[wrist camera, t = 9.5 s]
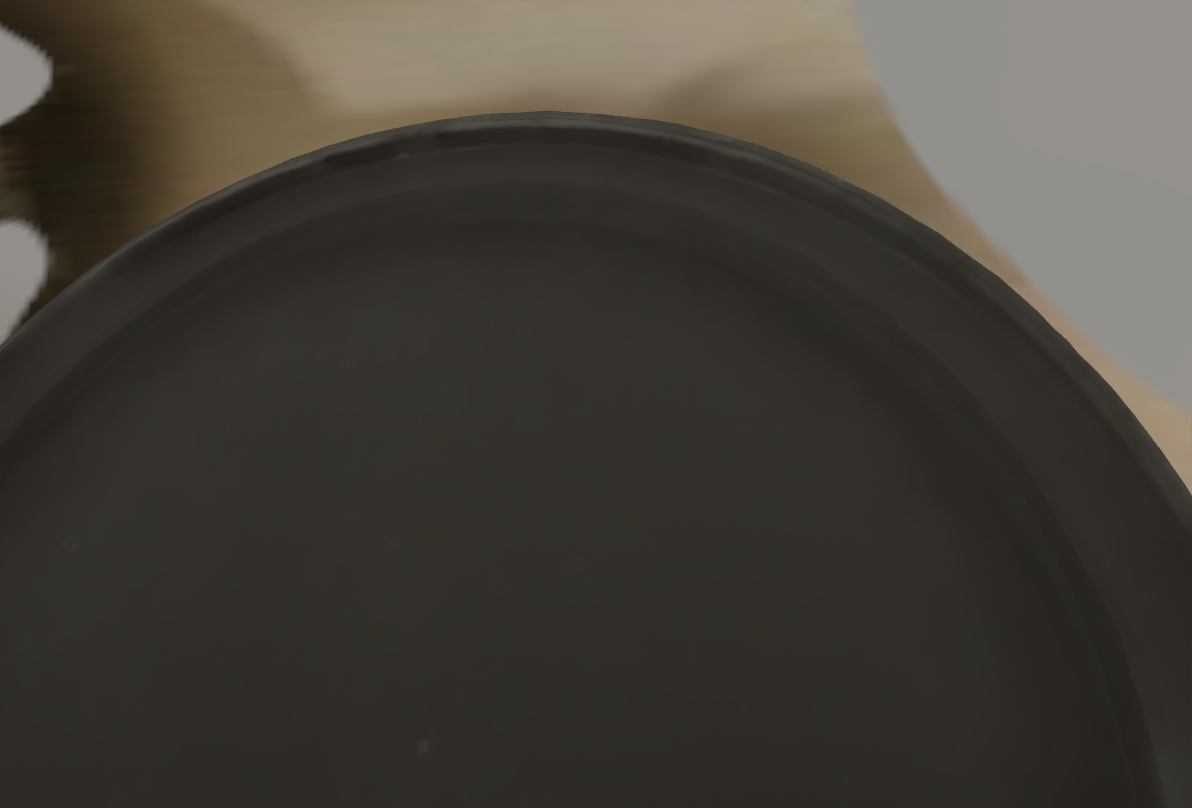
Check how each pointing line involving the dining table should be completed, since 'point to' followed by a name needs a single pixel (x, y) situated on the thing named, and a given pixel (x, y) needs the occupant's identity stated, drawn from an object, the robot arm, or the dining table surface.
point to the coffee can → (575, 500)
